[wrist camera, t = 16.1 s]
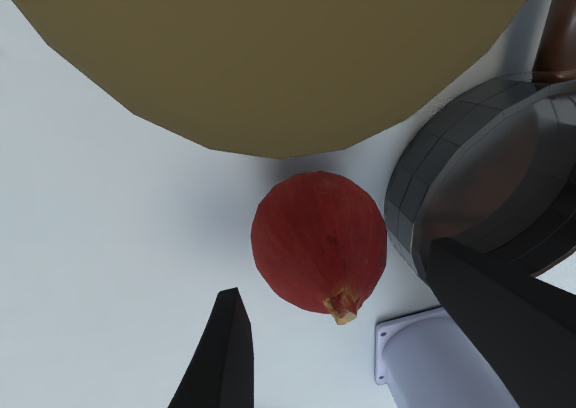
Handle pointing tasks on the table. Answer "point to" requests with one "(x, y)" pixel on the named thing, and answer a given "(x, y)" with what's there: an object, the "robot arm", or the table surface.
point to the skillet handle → (557, 44)
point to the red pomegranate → (320, 243)
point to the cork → (272, 63)
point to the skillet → (491, 176)
